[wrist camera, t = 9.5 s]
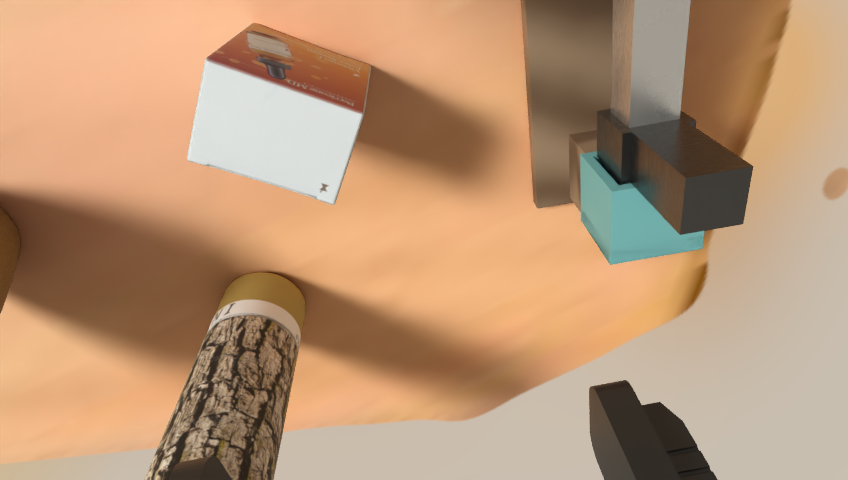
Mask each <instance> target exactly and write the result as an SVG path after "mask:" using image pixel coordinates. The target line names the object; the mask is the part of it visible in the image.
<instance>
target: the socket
mask: <svg viewBox="0 0 848 480" xmlns="http://www.w3.org/2000/svg"><path fill="white" fill-rule="evenodd" d="M580 179H581V221H582V223H583V224H584V226H585V227H586V229H587V230H588V232H589V233H590V235H591V236H592V238H593V239H594V241H595V242H596V244H597V245H598V247H599V248H600V250H601V251H602V253H603V254H604V256H605V257H606V259H607V260H608V262H609V263H610V265H611V264H617V263H623V262H629V261H634V260H640V259H646V258H652V257H658V256H663V255H669V254H675V253H681V252H686V251H692V250H698V249H702V247H703V239H704V232H705V231H700V232H694V233H688V234H683V235H679V234H678V233H677V232H676V230H675V229H674V228H673V227H672V226H671V225H670V224H669V223H668V222H667V221H666V220H665V219H664V218H663V217H662V216H661V215H660V213H659V212H658V211H657V210H656V209H655V208H654V207H653V206H652V205H651V204H650V203H649V202H648V201H647V200H646V199H645V198H644V196H643V195H642V194H641V193H640V192H639V191H638V190H637V189H636V188H635V187H634V186H633V185H632V184H631V183H629V184H623V185H618V184H617V183H616V182H615V181H614V179H613V174H612V173H611V172H610V171H609V170H608V168H607V167H606V166H605V165H604V164H603V163H602V162H601V161H600V160H599V158H598V157H597V151H594V152H589V153H583V154H580Z"/></svg>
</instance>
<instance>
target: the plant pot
mask: <svg viewBox="0 0 848 480" xmlns="http://www.w3.org/2000/svg"><path fill="white" fill-rule="evenodd" d="M20 246H21V242H20V236H19V233H18V230H17V228H16V226H15V224H14V222H13V221H12V220H11V218H10V217H9V216H8V215H7V214H6V213H5V212H4V210H2V209H1V208H0V313H1V311H2V308H3V305H4V303H5V300H6V297H7V294H8V291H9V289H10V286H11V282H12V279H13V276H14V272H15V269H16V265H17V261H18V257H19V252H20Z"/></svg>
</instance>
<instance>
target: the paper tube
mask: <svg viewBox="0 0 848 480" xmlns="http://www.w3.org/2000/svg"><path fill="white" fill-rule="evenodd" d="M305 313H306V305H305V300H304V297H303V295H302V293H301V292H300V290H299V289H298V288H297V287H296V286H295V285H294V284H293V283H292V282H290V281H289V280H287V279H286V278H284V277H282V276H279V275H276V274H273V273H266V272H257V273H250V274H246V275H244V276H241V277H239V278H237V279H236V280H234V281H233V282H232V283H231V284H230V285H229V286H228V287H227V289H226V290H225V292H224V295H223V297H222V299H221V302H220V304H219V306H218V309H217V311H216V313H215V316H214V318H213V320H212V322H211V324H210V327H209V329H208V331H207V334H206V336H205V338H204V341H203V343H202V346H201V348H200V350H199V353H198V355H197V357H196V360H195V362H194V364H193V367H192V369H191V371H190V374H189V376H188V379H187V381H186V383H185V386H184V388H183V390H182V393H181V395H180V397H179V400H178V402H177V404H176V407H175V409H174V411H173V414H172V416H171V419H170V421H169V423H168V426H167V428H166V430H165V433H164V435H163V437H162V440H161V442H160V444H159V447H158V449H157V452H156V454H155V456H154V459H153V461H152V463H151V466H150V468H149V470H148V473H147V475H146V478H145V480H169V477H170V474H171V472H172V470H173V468H174V466H175V465H176V464H177V463H179V462H183V461H189V460H194V459H199V458H205V457H210V456H216V457H217V458H218V459H219V460H220V461H221V463H222V464H223V466H224V468H225V469H226V471H227V472H228V474H229V475H230V477H231V478H232V480H273V479H274V474H275V469H276V463H277V458H278V453H279V448H280V443H281V438H282V433H283V428H284V422H285V417H286V412H287V407H288V402H289V397H290V392H291V386H292V381H293V376H294V371H295V366H296V361H297V355H298V350H299V345H300V340H301V333H302V328H303V323H304V318H305Z"/></svg>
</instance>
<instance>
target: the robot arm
mask: <svg viewBox="0 0 848 480" xmlns="http://www.w3.org/2000/svg"><path fill="white" fill-rule="evenodd" d="M589 405H590V436H591V441H592V446H593V449H594V453H595V456H596V459H597V462H598V464H599V467H600V469H601V472H602V475H603V477H604V480H717V478H716V476H715V475H714V473H713V472H711V470H710V467H709V465H708V463H707V461H706V460H705V458H704V456H703V454H702V453H701V451H699V450H698V448H697V444H696V443H695V441H694V439H693V438H692V436H691V435H690V433H689V431H688V429H687V428H686V426H685V424H684V423H683V421H682V420H681V419H679V418H678V417H677V416H676V415H674V414H673V413H672V412H671V411H670V410H669V409H667V408H666V407H665V406H664V405H663V404H662V403H660V402H657V403H652V404H647V405H641V403H640V401H639V400H638V398H637V396H636V394H635V392H634V390H633V388H632V387H631V385H630V384H629V383H628V382H627V381H626V380H623V381H618V382H613V383H607V384H602V385H597V386H592V387H590V389H589ZM169 480H232V478H231V477H230V475H229V474H228V472H227V471H226V469H225V468H224V466H223V464H222V463H221V461H220V460H219V459H218V458H217V457H216V456H210V457H205V458H199V459H194V460H189V461H183V462H179V463H177V464H176V465H175V466H174V468H173V470H172V472H171V474H170V477H169Z"/></svg>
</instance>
